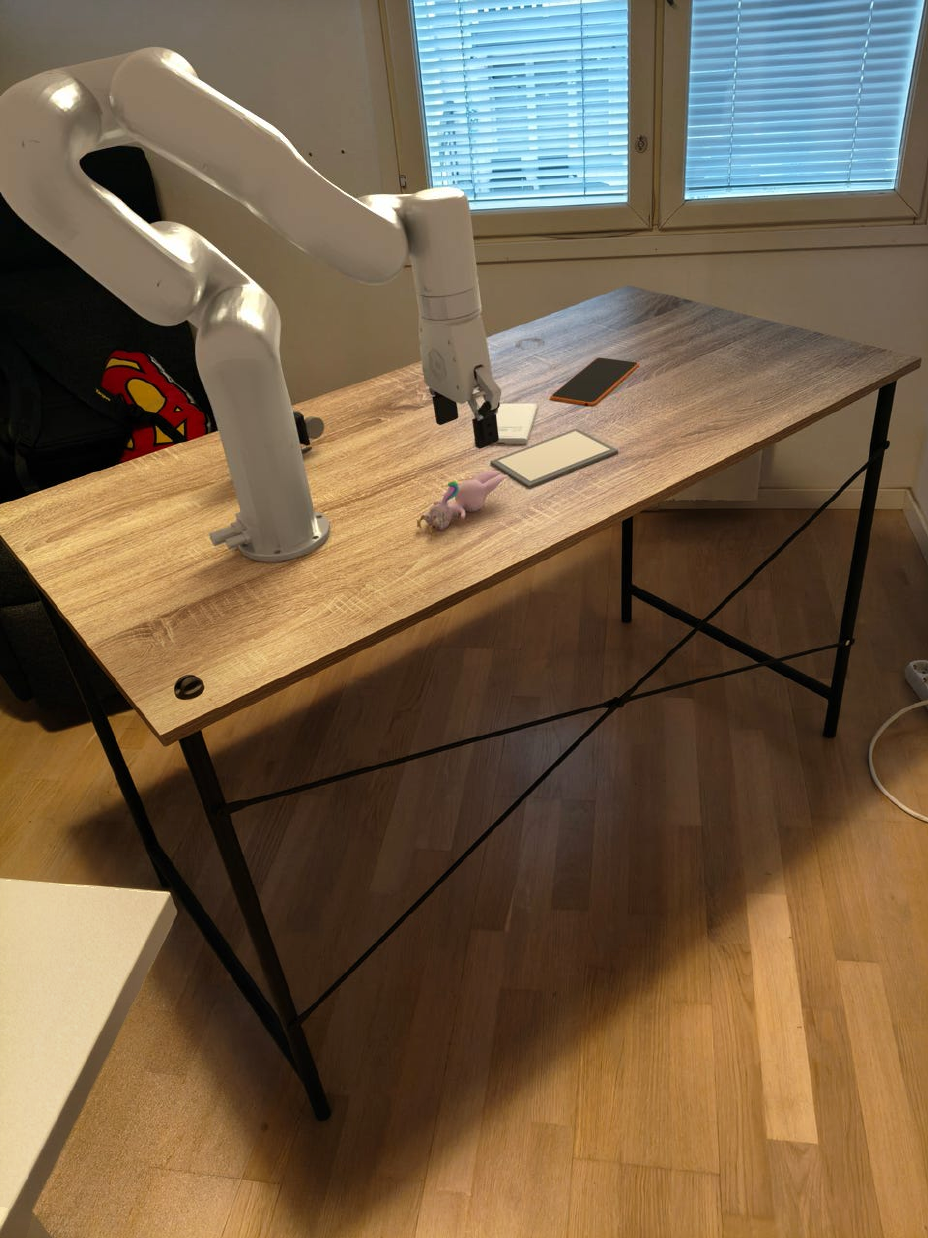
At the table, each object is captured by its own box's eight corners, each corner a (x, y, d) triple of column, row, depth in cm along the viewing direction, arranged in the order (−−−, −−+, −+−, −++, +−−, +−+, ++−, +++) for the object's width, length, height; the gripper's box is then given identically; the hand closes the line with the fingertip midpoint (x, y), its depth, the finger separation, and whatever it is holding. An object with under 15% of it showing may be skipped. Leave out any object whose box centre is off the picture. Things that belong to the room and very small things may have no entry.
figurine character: (300, 445, 156) (225, 474, 147) (295, 400, 152) (218, 426, 143) (328, 454, 153) (254, 485, 143) (324, 408, 149) (246, 436, 139)
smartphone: (640, 366, 166) (640, 361, 166) (594, 409, 154) (593, 403, 154) (596, 360, 170) (596, 355, 170) (548, 401, 158) (547, 396, 158)
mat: (529, 487, 134) (529, 484, 134) (490, 463, 141) (490, 460, 141) (618, 452, 140) (618, 449, 140) (576, 430, 147) (576, 427, 147)
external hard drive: (537, 412, 156) (527, 447, 146) (488, 412, 157) (474, 446, 148) (537, 403, 155) (526, 437, 145) (487, 403, 156) (473, 437, 147)
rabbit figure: (442, 549, 126) (521, 490, 132) (431, 514, 122) (513, 454, 128) (413, 533, 130) (491, 476, 136) (401, 498, 126) (482, 441, 132)
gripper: (387, 295, 118) (409, 422, 129) (460, 327, 106) (478, 464, 116) (439, 279, 121) (456, 404, 131) (515, 308, 109) (528, 444, 119)
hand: (467, 432), depth 124 cm, fingers open, 9 cm apart
